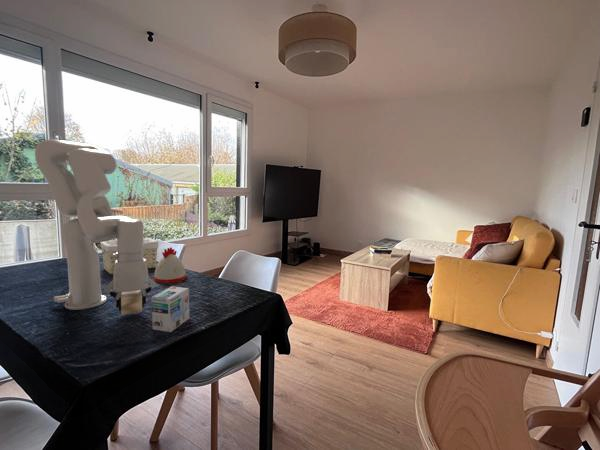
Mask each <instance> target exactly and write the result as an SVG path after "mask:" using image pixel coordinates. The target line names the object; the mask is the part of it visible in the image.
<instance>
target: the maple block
mask: <svg viewBox="0 0 600 450" xmlns="http://www.w3.org/2000/svg"><path fill="white" fill-rule="evenodd" d="M120 297H121V311H120V313H121V316H123V315H124V316H125V315H129V314H130V315H131V314H136V313H137V314H138V313H142V312H143V308H142V292H141V290H137V291H129V292H122V294H121V296H120Z"/></svg>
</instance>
